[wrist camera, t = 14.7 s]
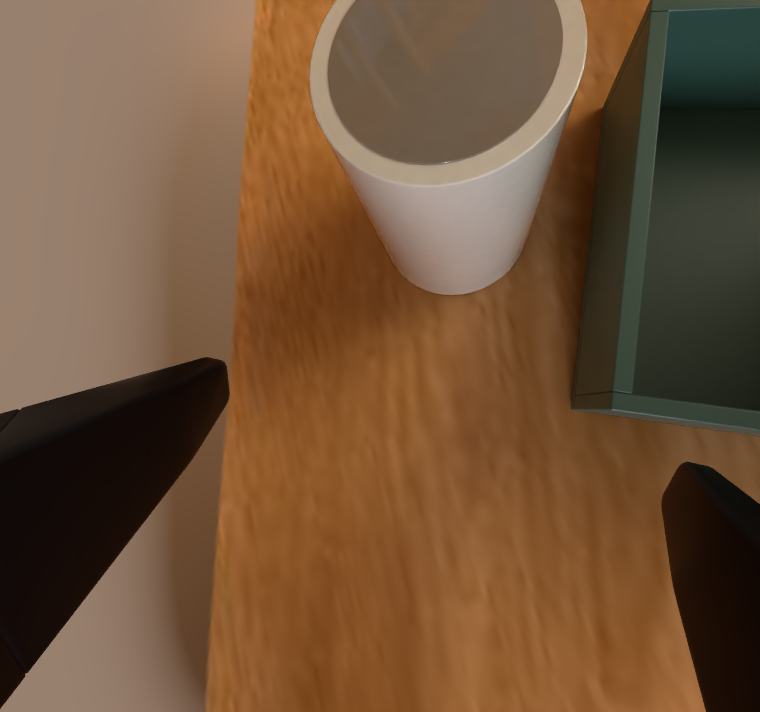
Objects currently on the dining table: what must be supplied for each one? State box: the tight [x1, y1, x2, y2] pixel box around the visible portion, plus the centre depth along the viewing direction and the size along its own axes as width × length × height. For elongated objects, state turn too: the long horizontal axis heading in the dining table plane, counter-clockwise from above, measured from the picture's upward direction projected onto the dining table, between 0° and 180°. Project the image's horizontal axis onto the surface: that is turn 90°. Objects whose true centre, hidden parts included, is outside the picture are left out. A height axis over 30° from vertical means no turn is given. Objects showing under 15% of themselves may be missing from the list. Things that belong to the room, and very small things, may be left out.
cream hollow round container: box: [309, 0, 588, 295], centre depth 16 cm, size 9×7×10 cm
